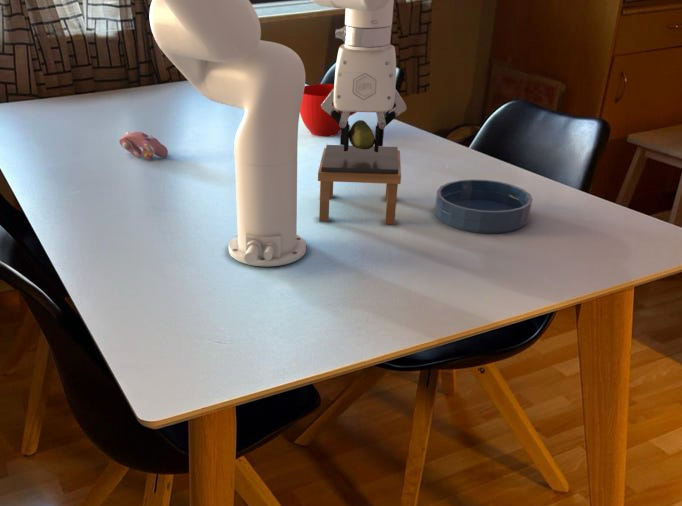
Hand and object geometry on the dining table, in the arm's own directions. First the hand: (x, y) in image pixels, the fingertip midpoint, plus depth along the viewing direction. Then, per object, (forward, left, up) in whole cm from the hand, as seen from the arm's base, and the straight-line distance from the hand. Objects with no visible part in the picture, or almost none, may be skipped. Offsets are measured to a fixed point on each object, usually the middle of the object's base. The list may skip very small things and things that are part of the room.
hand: (361, 148), depth 126 cm
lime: (0, 0, 0) cm, 0 cm away
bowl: (-1, -22, -11) cm, 25 cm away
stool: (0, 0, -11) cm, 11 cm away
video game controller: (+26, +48, -11) cm, 56 cm away
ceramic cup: (+50, +8, -11) cm, 52 cm away
